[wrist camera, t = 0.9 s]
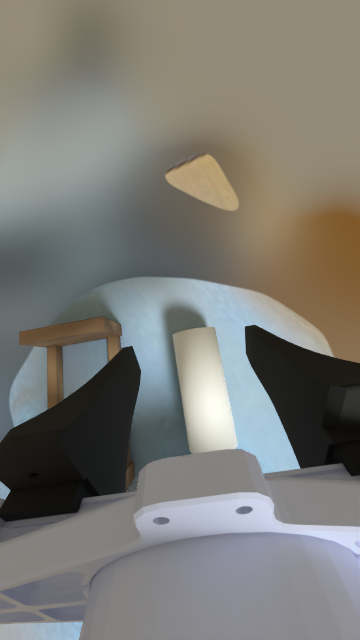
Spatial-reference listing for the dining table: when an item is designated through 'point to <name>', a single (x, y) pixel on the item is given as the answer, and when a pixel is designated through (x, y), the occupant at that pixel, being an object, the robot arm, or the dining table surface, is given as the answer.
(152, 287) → the dining table surface
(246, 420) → the dining table surface
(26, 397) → the dining table surface
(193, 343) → the cylinder
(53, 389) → the holder
